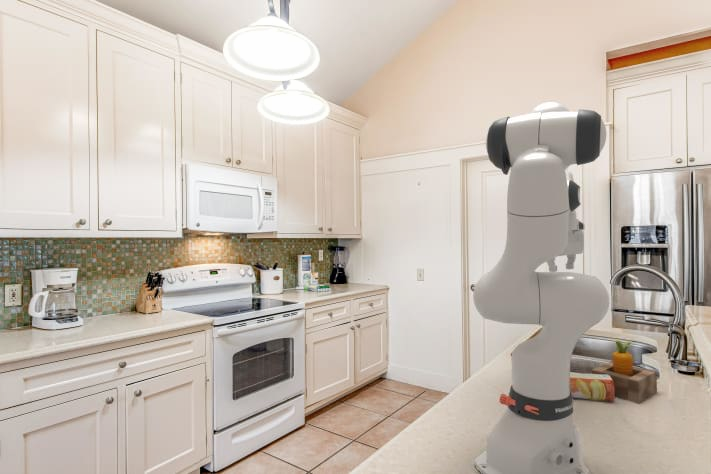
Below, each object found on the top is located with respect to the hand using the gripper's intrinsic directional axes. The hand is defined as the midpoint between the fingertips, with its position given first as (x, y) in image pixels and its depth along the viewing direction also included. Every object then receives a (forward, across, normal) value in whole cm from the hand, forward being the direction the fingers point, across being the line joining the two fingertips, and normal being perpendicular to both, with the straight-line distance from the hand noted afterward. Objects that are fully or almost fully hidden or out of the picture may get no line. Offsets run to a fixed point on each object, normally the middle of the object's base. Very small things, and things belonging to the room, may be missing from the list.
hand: (561, 270), depth 123 cm
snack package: (+36, -7, -5) cm, 36 cm away
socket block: (+35, +8, -13) cm, 38 cm away
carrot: (+35, +8, -13) cm, 38 cm away
